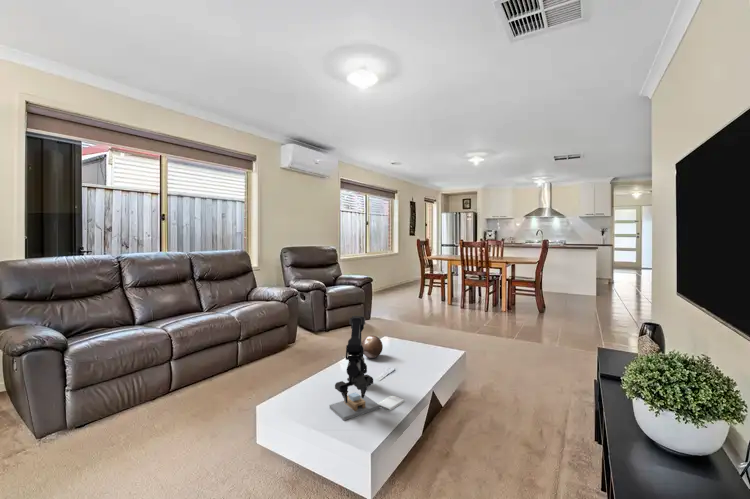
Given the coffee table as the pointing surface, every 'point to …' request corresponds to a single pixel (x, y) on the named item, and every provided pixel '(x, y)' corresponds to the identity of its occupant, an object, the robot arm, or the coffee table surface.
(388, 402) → the external hard drive
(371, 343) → the wooden sphere
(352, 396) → the pale blue square block
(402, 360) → the coffee table surface
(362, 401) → the board
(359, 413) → the slate dock
